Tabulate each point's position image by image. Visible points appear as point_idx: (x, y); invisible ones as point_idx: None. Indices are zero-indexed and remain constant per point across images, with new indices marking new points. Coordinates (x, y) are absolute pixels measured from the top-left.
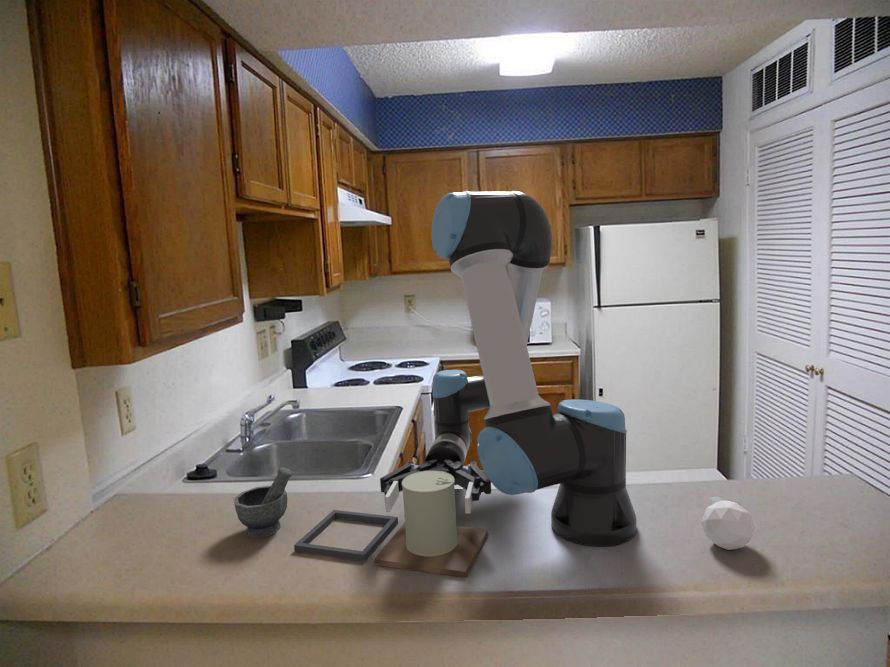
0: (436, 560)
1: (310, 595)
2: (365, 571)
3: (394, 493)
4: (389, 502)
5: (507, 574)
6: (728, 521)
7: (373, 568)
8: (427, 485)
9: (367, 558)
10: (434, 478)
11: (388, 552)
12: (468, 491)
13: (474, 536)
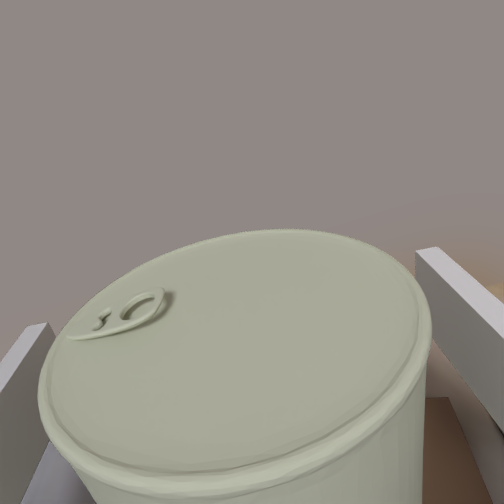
0: None
1: (489, 290)
2: (446, 379)
3: (474, 343)
4: (415, 276)
5: (39, 464)
6: None
7: (435, 395)
8: (222, 275)
9: (502, 432)
10: (191, 347)
11: (431, 442)
12: (2, 375)
13: None
